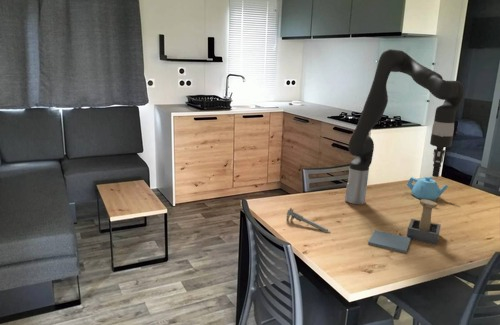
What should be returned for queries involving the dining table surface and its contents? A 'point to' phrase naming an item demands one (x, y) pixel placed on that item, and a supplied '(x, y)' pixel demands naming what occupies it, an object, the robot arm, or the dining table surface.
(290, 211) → the caliper
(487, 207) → the dining table surface
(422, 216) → the handle
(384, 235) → the rubber mat
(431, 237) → the socket block
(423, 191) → the teapot
